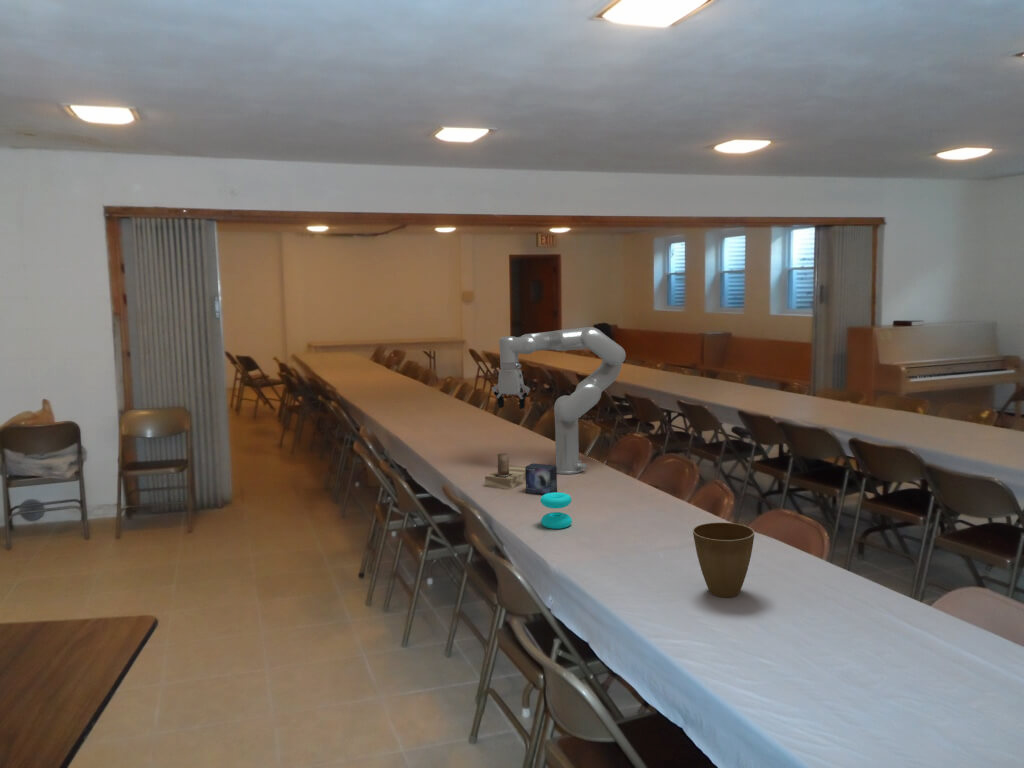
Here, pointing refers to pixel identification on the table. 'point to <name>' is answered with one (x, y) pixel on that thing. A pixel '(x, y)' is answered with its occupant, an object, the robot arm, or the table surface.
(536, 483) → the small box
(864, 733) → the table surface
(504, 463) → the peg
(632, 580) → the table surface
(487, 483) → the board
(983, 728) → the table surface
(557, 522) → the donuts
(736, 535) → the plant pot
